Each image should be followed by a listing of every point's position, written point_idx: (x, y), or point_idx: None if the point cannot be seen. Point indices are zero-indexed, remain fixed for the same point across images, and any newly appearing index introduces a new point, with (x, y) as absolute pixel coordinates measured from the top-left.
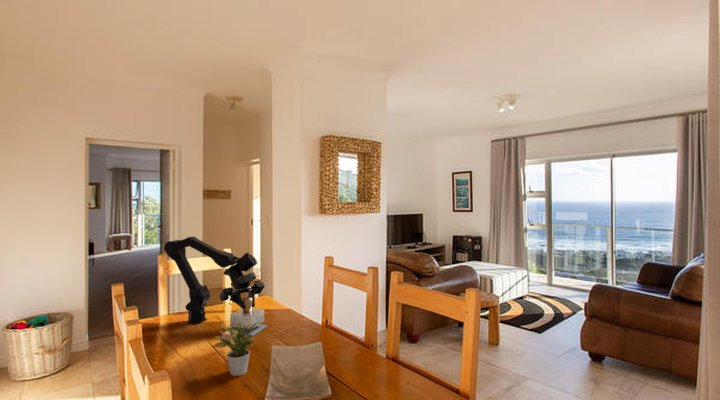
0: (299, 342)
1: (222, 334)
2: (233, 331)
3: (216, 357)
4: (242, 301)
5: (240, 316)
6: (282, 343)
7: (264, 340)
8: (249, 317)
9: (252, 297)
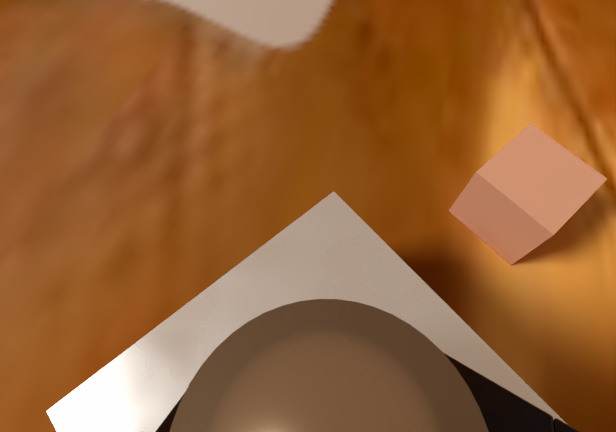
0: (120, 17)
1: (598, 179)
2: (507, 178)
3: (580, 52)
4: (486, 422)
5: (450, 315)
6: (204, 45)
7: (276, 128)
8: (350, 216)
9: None
